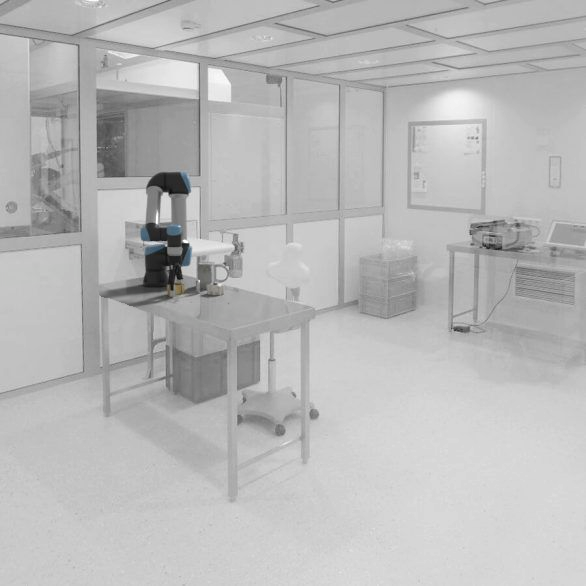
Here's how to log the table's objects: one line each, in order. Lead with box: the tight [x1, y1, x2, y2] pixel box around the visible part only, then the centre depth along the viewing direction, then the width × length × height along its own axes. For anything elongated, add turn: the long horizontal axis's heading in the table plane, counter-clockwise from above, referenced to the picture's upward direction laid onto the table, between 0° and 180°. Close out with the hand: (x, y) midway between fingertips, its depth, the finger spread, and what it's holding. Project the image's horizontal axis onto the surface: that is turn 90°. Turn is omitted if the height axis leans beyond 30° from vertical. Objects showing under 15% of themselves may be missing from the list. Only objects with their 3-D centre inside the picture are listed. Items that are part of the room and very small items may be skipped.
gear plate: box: [195, 280, 201, 295], centre depth 350 cm, size 9×18×8 cm, turn 85°
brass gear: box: [166, 282, 186, 297], centre depth 351 cm, size 9×9×6 cm
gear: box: [206, 282, 225, 296], centre depth 349 cm, size 9×9×6 cm
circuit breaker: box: [197, 261, 217, 290], centre depth 368 cm, size 8×14×15 cm, turn 174°
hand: (176, 294), depth 352 cm, fingers open, 13 cm apart
